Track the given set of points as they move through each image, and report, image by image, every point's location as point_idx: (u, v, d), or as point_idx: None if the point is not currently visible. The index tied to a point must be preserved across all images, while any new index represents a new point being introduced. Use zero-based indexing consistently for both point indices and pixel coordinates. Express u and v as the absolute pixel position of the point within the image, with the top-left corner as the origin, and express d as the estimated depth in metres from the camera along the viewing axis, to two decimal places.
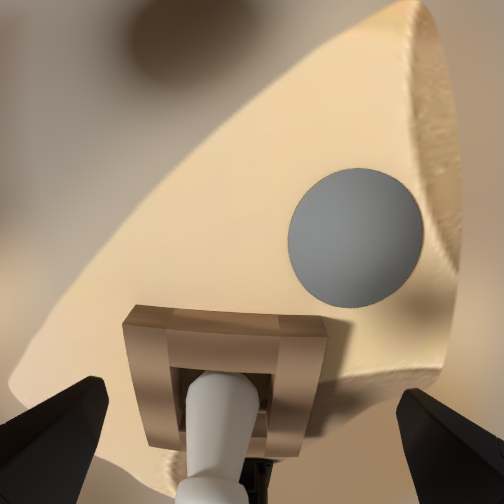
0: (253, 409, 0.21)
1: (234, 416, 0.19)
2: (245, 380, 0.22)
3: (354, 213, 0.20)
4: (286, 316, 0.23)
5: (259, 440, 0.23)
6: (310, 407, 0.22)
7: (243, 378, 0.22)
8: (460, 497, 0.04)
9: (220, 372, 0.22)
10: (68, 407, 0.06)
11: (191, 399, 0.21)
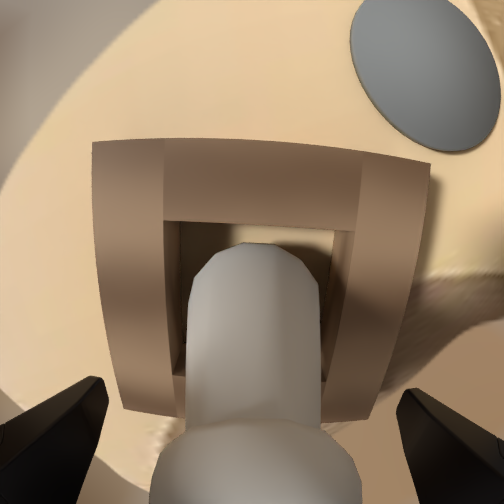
0: (318, 304, 0.12)
1: (290, 299, 0.10)
2: None
3: (425, 28, 0.11)
4: None
5: None
6: (402, 312, 0.13)
7: (293, 255, 0.13)
8: (461, 497, 0.04)
9: (253, 243, 0.13)
10: (68, 407, 0.06)
11: (199, 286, 0.12)
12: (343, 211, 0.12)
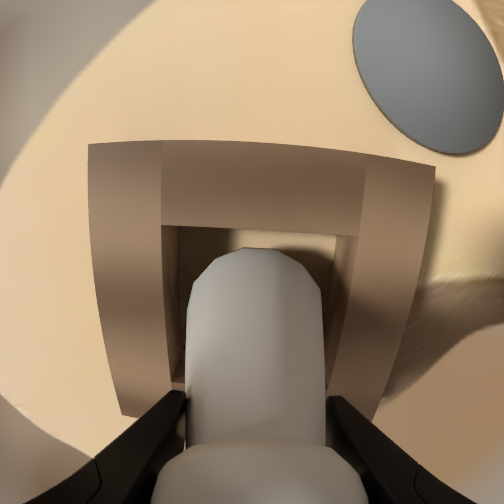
0: (320, 311, 0.11)
1: (293, 308, 0.10)
2: (299, 263, 0.13)
3: (429, 27, 0.11)
4: None
5: None
6: (406, 318, 0.13)
7: None
8: None
9: (253, 248, 0.13)
10: (163, 428, 0.06)
11: (199, 293, 0.11)
12: (346, 215, 0.11)
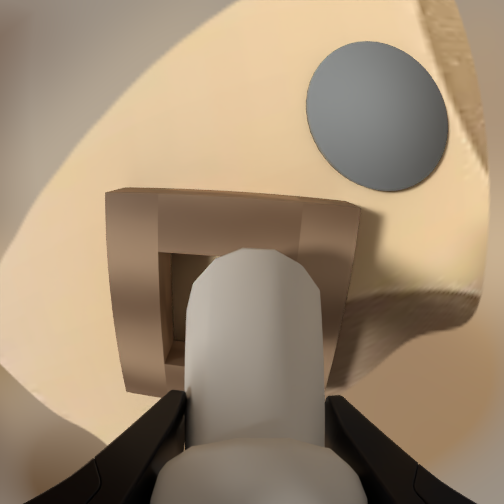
0: (320, 311, 0.11)
1: (292, 308, 0.10)
2: (298, 263, 0.13)
3: (376, 82, 0.16)
4: (306, 197, 0.19)
5: None
6: (339, 321, 0.18)
7: (294, 261, 0.13)
8: None
9: (253, 248, 0.13)
10: (163, 428, 0.06)
11: (198, 293, 0.11)
12: (287, 247, 0.17)
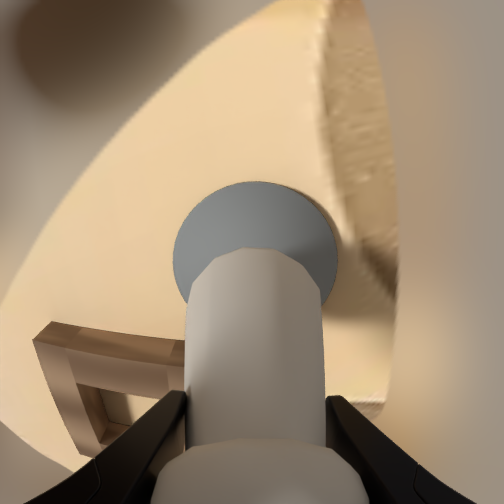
0: (320, 311, 0.11)
1: (293, 307, 0.09)
2: (298, 263, 0.13)
3: (245, 234, 0.18)
4: (184, 342, 0.21)
5: None
6: None
7: (294, 260, 0.13)
8: None
9: (253, 248, 0.13)
10: (163, 428, 0.06)
11: (198, 293, 0.11)
12: (161, 391, 0.19)
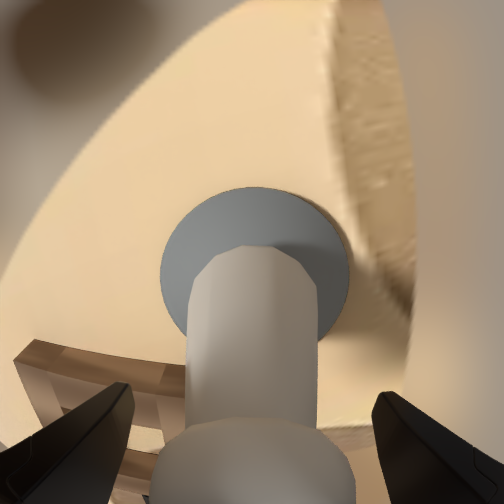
0: (315, 306, 0.12)
1: (288, 302, 0.10)
2: (295, 260, 0.13)
3: None
4: (175, 367, 0.18)
5: None
6: None
7: (291, 258, 0.14)
8: None
9: (252, 245, 0.13)
10: (98, 415, 0.06)
11: (199, 288, 0.12)
12: (151, 420, 0.16)
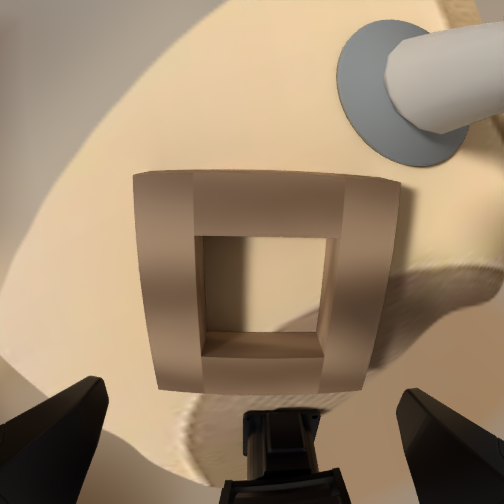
0: None
1: None
2: None
3: None
4: (342, 174, 0.18)
5: (313, 363, 0.18)
6: (382, 299, 0.17)
7: None
8: (461, 497, 0.04)
9: None
10: (68, 407, 0.06)
11: (409, 45, 0.11)
12: (331, 224, 0.16)
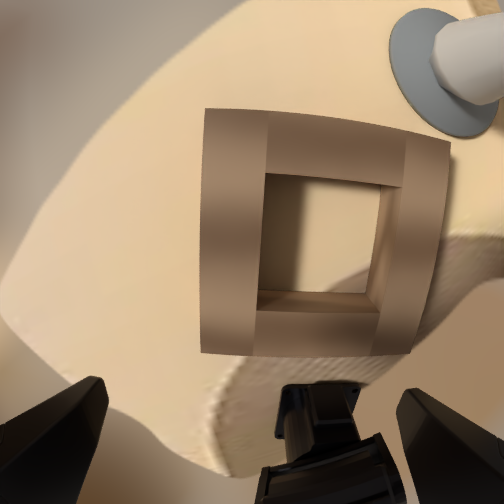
0: None
1: None
2: None
3: None
4: None
5: (370, 319, 0.18)
6: (435, 253, 0.17)
7: None
8: (460, 497, 0.04)
9: None
10: (68, 407, 0.06)
11: (455, 26, 0.11)
12: (394, 172, 0.15)
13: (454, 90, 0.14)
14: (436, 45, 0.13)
